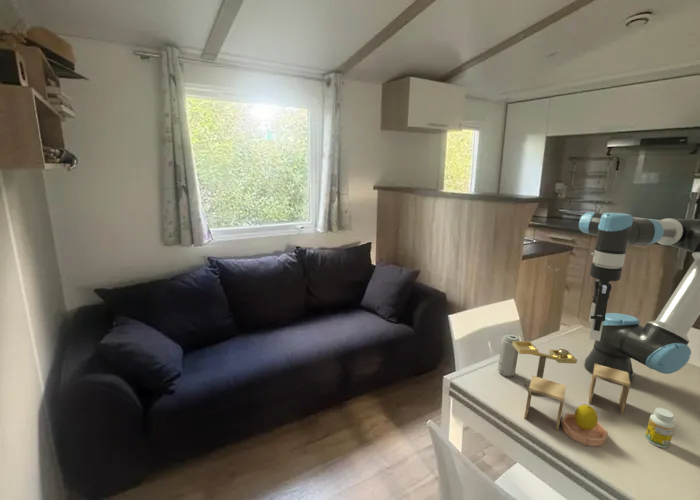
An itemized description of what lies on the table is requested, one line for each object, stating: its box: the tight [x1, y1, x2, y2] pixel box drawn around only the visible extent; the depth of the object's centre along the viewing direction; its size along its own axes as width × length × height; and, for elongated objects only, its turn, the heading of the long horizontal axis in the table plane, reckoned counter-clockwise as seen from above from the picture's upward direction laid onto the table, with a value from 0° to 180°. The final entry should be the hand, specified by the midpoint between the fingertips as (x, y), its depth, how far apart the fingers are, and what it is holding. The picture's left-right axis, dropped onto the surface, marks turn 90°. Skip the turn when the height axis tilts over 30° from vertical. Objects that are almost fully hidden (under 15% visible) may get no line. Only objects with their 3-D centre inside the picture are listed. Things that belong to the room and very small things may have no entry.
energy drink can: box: [497, 333, 520, 378], centre depth 134 cm, size 6×6×15 cm
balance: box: [512, 340, 578, 396], centre depth 124 cm, size 19×6×17 cm, turn 88°
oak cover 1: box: [524, 375, 567, 432], centre depth 111 cm, size 9×8×11 cm
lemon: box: [574, 404, 598, 430], centre depth 105 cm, size 6×6×8 cm
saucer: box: [560, 412, 609, 448], centre depth 106 cm, size 11×11×2 cm
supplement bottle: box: [644, 407, 675, 449], centre depth 102 cm, size 5×5×10 cm
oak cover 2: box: [588, 364, 631, 415], centre depth 119 cm, size 9×8×11 cm
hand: (593, 331), depth 112 cm, fingers open, 13 cm apart
